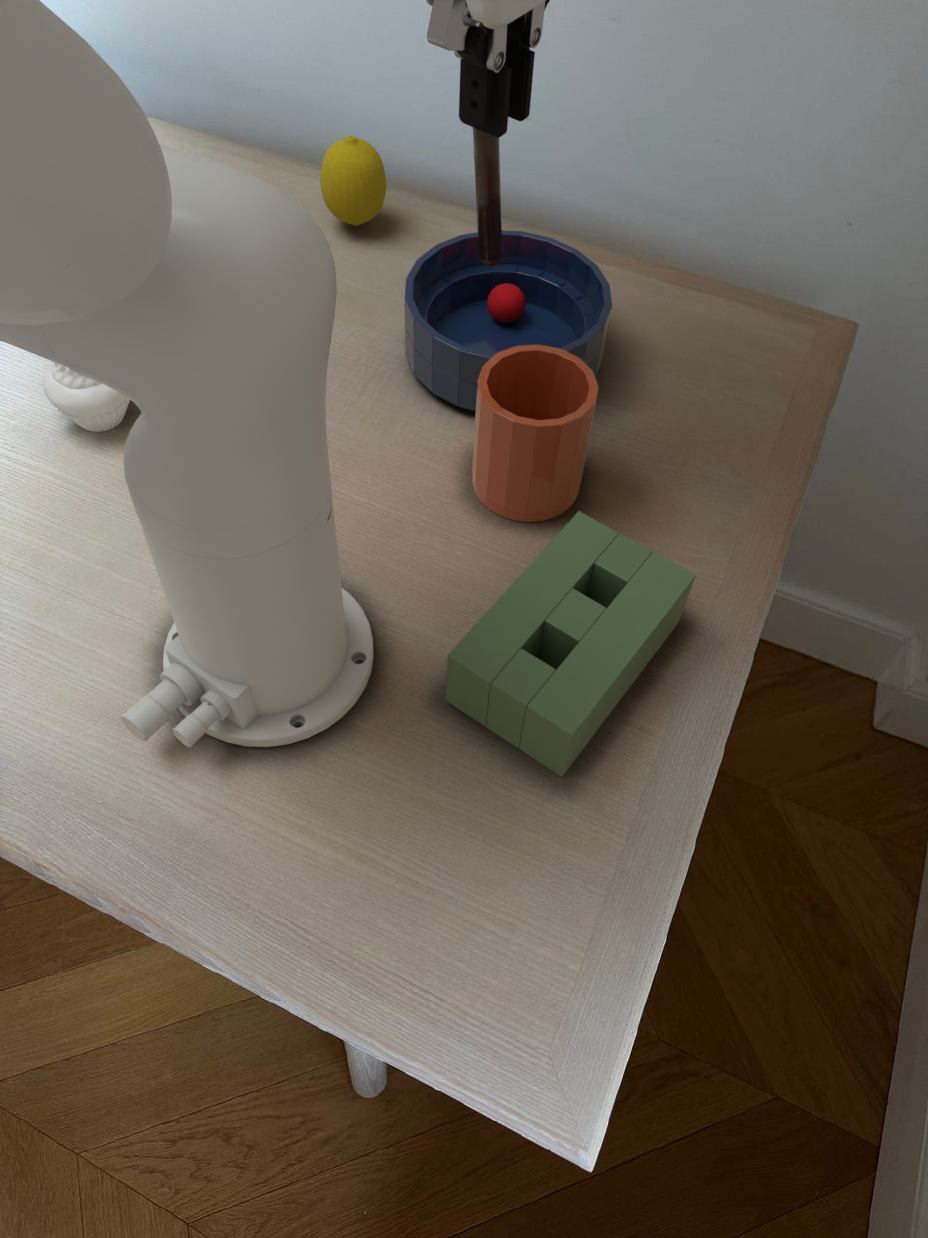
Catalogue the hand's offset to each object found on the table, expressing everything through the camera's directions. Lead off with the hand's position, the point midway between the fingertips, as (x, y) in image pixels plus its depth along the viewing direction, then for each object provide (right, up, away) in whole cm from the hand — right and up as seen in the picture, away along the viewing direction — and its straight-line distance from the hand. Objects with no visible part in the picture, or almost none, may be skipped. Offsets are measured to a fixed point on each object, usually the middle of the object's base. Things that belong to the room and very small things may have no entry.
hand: (494, 118), depth 61 cm
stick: (0, -6, +8) cm, 10 cm away
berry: (+1, -5, +18) cm, 19 cm away
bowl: (+1, -10, +18) cm, 21 cm away
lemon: (-11, +4, +28) cm, 30 cm away
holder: (+4, -33, +2) cm, 33 cm away
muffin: (-28, -16, +13) cm, 35 cm away
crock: (+3, -21, +10) cm, 23 cm away
